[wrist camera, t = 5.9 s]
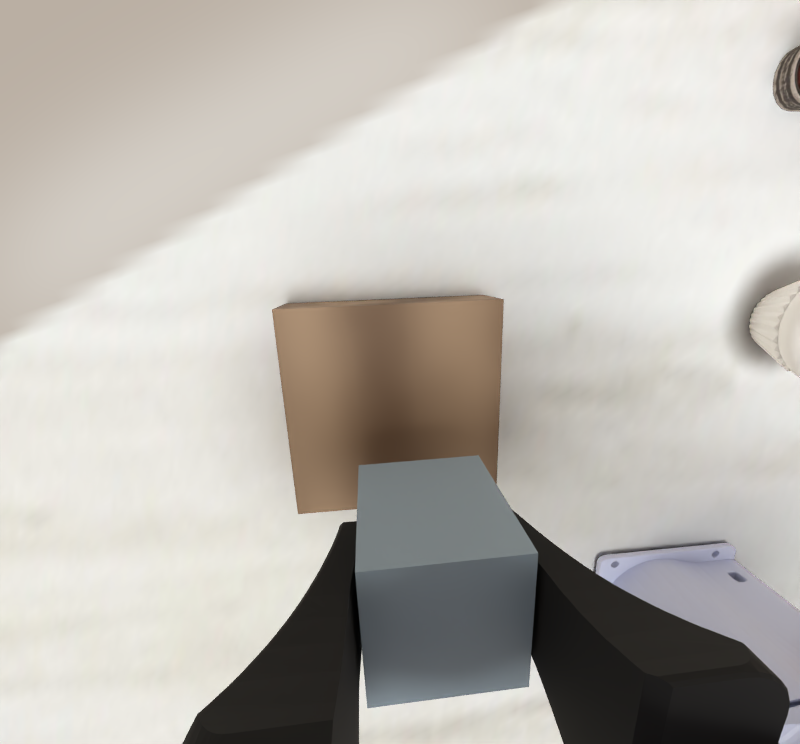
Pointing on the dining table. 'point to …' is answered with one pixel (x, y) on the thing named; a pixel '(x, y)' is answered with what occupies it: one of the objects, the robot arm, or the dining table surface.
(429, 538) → the slate cube
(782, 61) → the lighter
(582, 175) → the dining table surface
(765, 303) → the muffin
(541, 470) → the dining table surface
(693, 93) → the dining table surface
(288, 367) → the walnut block
